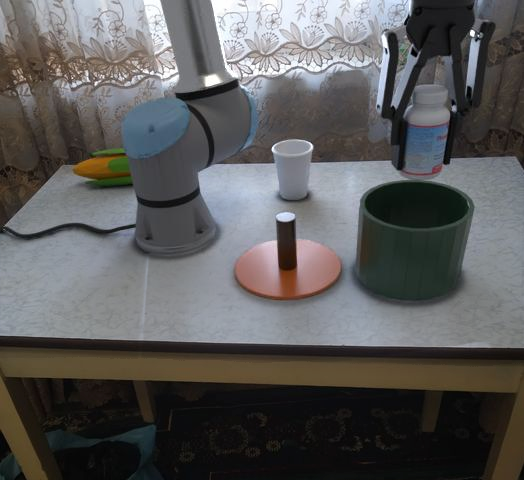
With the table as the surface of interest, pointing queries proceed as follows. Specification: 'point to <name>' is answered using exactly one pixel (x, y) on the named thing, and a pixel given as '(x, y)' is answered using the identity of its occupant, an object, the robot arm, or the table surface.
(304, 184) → the dixie cup
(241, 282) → the tin lid
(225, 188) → the table surface
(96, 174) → the corn
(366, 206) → the tin
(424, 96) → the pill bottle
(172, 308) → the table surface
